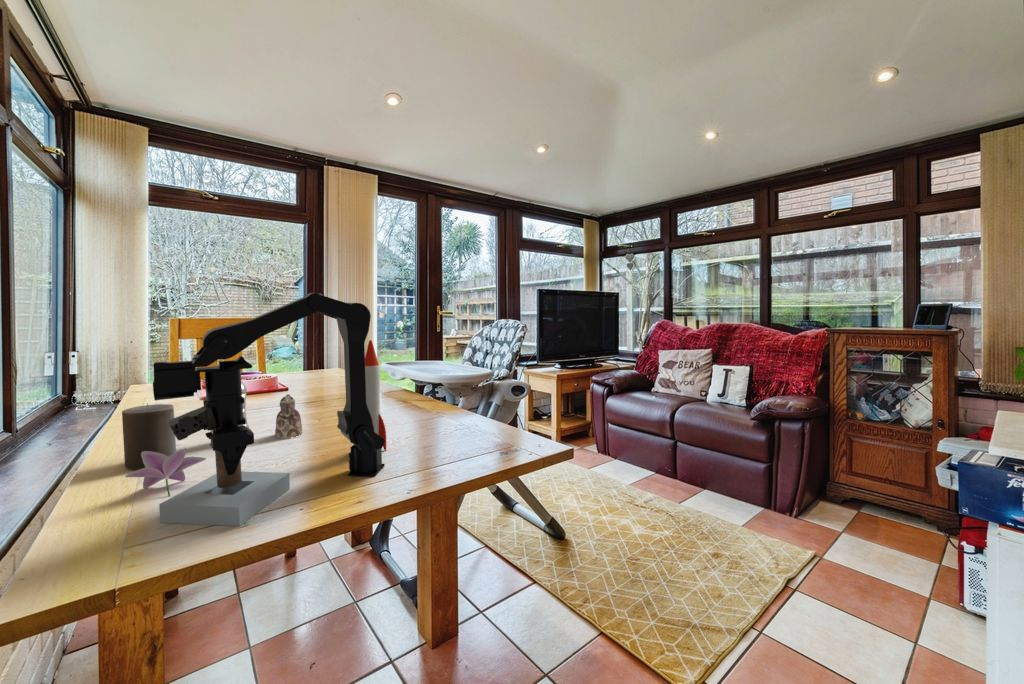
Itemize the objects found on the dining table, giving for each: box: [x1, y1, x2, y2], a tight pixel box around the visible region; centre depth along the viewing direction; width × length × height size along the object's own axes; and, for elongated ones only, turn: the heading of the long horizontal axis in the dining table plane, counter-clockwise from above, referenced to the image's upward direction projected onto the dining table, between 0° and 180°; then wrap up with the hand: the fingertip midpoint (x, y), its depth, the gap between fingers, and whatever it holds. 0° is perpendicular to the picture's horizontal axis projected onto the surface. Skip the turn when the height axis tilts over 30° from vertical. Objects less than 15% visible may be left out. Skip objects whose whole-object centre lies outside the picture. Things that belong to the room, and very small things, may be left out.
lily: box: [124, 448, 207, 497], centre depth 88 cm, size 12×12×10 cm
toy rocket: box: [365, 339, 387, 451], centre depth 112 cm, size 6×6×30 cm
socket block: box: [158, 470, 291, 527], centre depth 82 cm, size 15×15×4 cm
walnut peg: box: [214, 451, 242, 488], centre depth 81 cm, size 4×4×9 cm
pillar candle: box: [121, 402, 177, 471], centre depth 103 cm, size 10×10×15 cm
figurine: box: [274, 394, 303, 439], centre depth 124 cm, size 7×7×12 cm
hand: (229, 471), depth 82 cm, fingers closed on walnut peg, 4 cm apart
